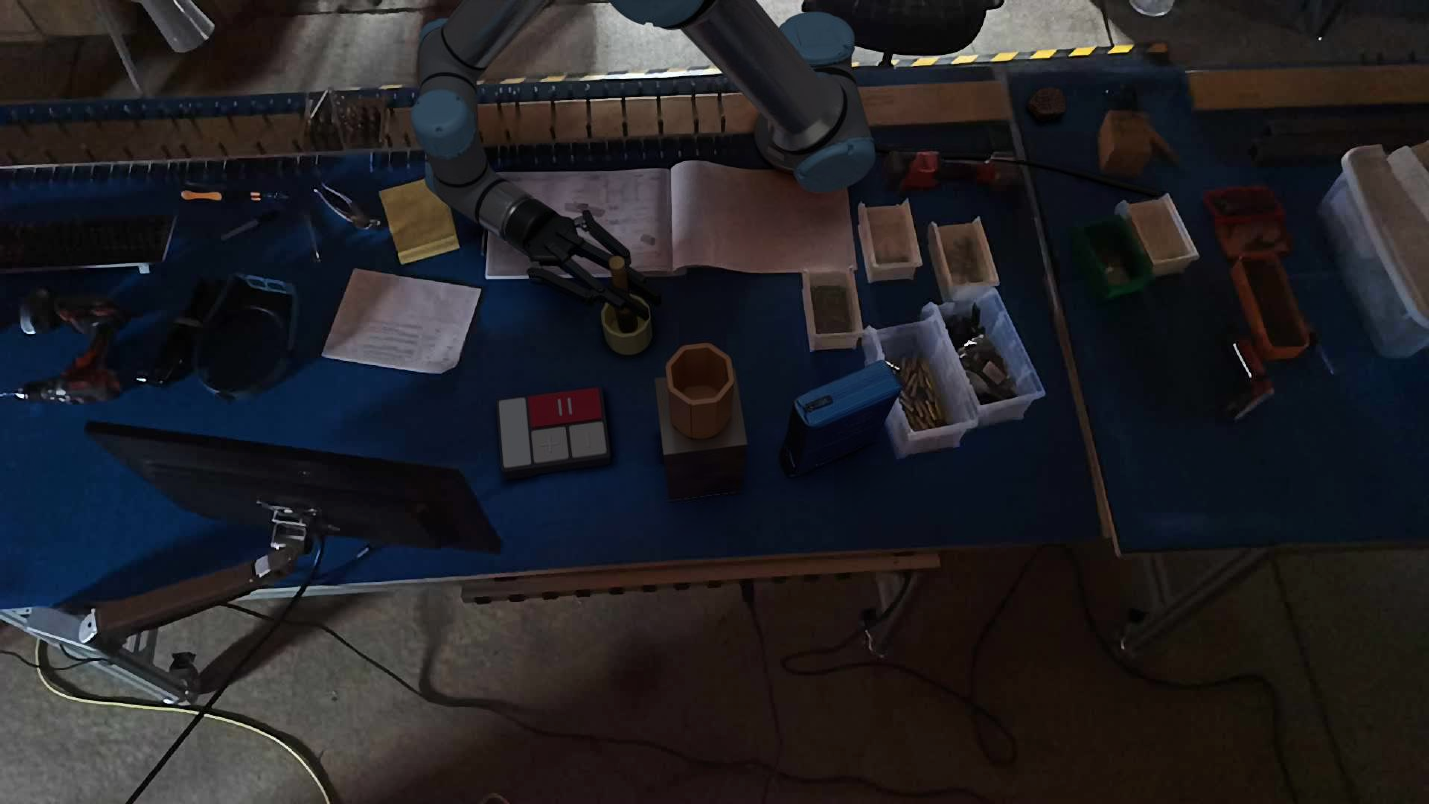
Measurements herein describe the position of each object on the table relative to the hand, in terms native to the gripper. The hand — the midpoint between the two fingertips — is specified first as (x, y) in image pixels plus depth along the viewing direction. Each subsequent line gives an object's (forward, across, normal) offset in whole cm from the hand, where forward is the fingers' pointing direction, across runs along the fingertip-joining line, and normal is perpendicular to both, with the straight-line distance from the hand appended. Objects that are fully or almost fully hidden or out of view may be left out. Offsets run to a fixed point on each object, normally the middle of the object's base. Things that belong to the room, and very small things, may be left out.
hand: (653, 307), depth 113 cm
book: (+28, -2, -14) cm, 32 cm away
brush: (-6, 0, -11) cm, 12 cm away
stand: (+15, +10, -14) cm, 23 cm away
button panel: (-4, +19, -14) cm, 24 cm away
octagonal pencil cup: (+15, +10, +6) cm, 20 cm away
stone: (+25, -76, -15) cm, 82 cm away
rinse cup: (-6, 0, -14) cm, 15 cm away
